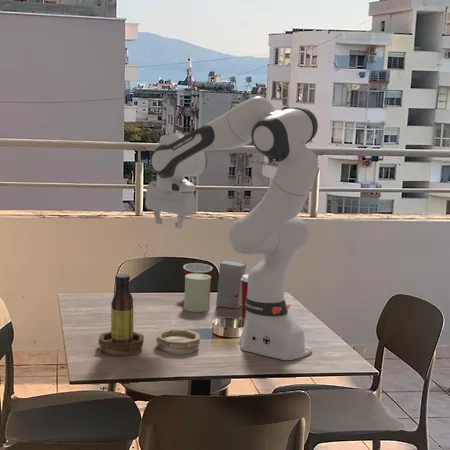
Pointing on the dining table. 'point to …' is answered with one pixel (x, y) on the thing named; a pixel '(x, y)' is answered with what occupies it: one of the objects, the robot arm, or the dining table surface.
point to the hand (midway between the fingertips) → (168, 225)
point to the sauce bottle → (122, 311)
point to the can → (197, 292)
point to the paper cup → (244, 292)
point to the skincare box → (230, 284)
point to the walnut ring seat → (120, 345)
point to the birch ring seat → (178, 341)
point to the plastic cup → (197, 268)
